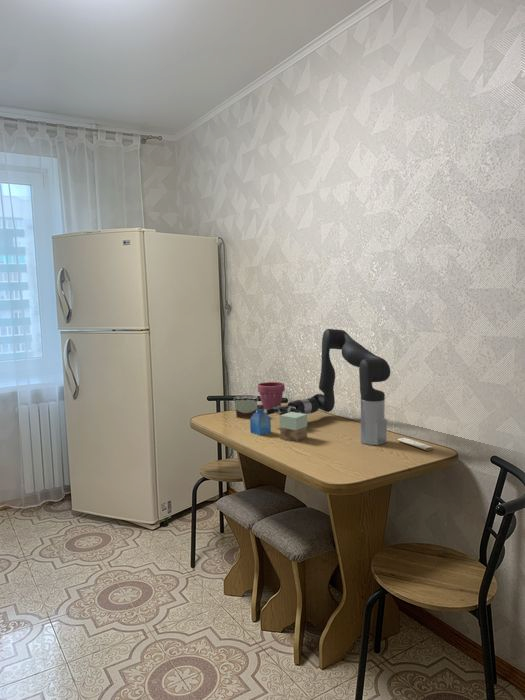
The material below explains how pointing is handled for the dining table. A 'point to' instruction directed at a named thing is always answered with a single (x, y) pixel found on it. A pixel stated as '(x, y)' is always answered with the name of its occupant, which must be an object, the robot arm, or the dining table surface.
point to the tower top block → (293, 420)
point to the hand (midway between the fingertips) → (273, 413)
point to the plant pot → (271, 393)
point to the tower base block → (293, 434)
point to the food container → (245, 405)
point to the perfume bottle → (260, 422)
